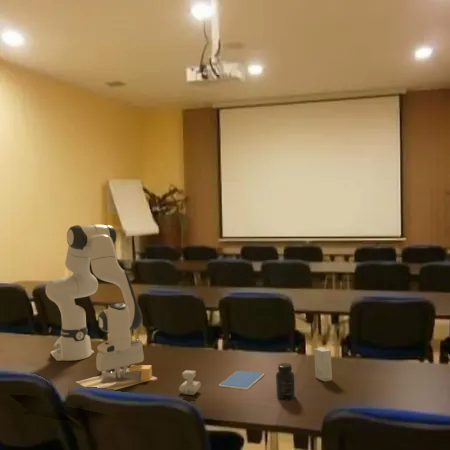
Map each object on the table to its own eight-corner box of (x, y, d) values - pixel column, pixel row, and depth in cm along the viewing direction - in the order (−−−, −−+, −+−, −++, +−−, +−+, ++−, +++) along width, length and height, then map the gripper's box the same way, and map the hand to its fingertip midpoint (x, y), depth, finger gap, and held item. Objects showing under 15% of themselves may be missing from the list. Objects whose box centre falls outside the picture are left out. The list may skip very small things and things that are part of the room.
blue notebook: (247, 391, 209) (247, 388, 209) (217, 387, 214) (217, 384, 214) (265, 376, 226) (265, 372, 226) (237, 372, 232) (237, 369, 231)
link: (101, 380, 223) (101, 372, 223) (107, 375, 229) (107, 367, 229) (139, 380, 220) (139, 373, 220) (143, 376, 226) (143, 368, 226)
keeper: (128, 382, 222) (128, 369, 221) (132, 378, 227) (131, 365, 226) (149, 382, 221) (149, 368, 221) (152, 378, 226) (151, 365, 226)
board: (75, 383, 222) (75, 381, 222) (132, 369, 239) (132, 367, 239) (98, 396, 206) (98, 394, 206) (157, 379, 223) (157, 378, 223)
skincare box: (332, 380, 217) (332, 350, 216) (323, 382, 215) (322, 351, 214) (323, 375, 222) (322, 346, 222) (314, 377, 221) (313, 348, 220)
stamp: (194, 398, 202) (193, 375, 201) (177, 397, 204) (177, 374, 203) (202, 389, 210) (201, 368, 210) (186, 388, 212) (185, 367, 212)
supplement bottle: (274, 394, 204) (274, 362, 203) (292, 393, 204) (292, 361, 203) (278, 400, 197) (277, 368, 196) (296, 399, 197) (296, 367, 197)
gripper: (138, 337, 230) (139, 369, 231) (93, 347, 217) (95, 381, 217) (146, 340, 225) (147, 373, 226) (100, 349, 212) (102, 384, 213)
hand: (121, 377), depth 221 cm, fingers closed
